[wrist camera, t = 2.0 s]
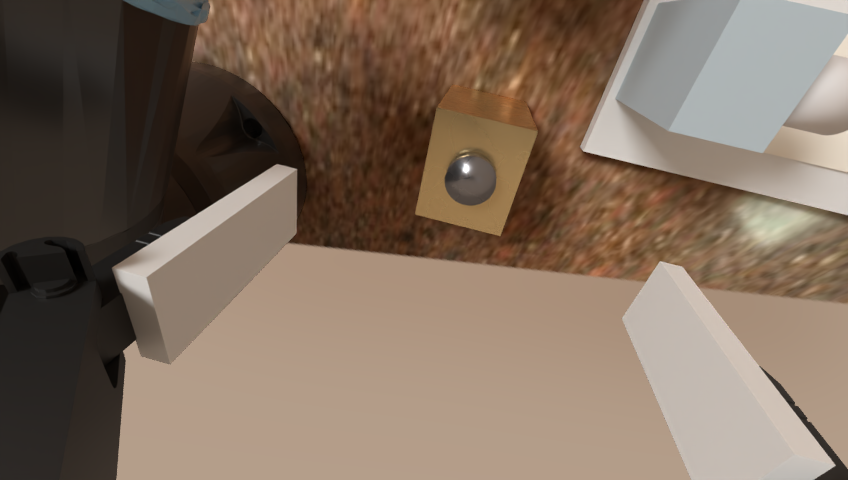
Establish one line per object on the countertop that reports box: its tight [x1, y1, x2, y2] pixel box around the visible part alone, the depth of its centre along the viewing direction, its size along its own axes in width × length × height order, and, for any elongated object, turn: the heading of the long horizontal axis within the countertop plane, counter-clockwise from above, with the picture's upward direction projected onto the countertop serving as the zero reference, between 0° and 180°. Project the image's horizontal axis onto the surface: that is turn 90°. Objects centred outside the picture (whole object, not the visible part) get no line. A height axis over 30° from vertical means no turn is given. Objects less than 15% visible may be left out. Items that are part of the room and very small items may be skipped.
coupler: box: [415, 85, 538, 236], centre depth 22 cm, size 5×6×9 cm
